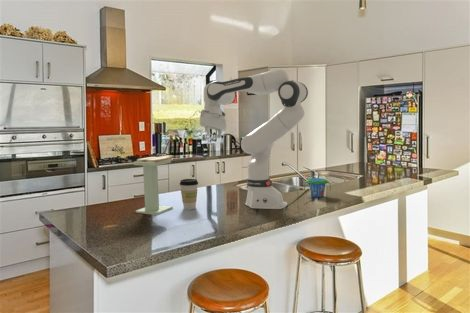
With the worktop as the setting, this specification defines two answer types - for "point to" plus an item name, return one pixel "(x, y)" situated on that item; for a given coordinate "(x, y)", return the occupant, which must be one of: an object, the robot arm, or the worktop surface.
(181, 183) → the coffee cup
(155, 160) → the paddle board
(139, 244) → the worktop surface
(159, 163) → the tall stand
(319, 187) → the snack cup
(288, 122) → the robot arm
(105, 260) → the worktop surface
